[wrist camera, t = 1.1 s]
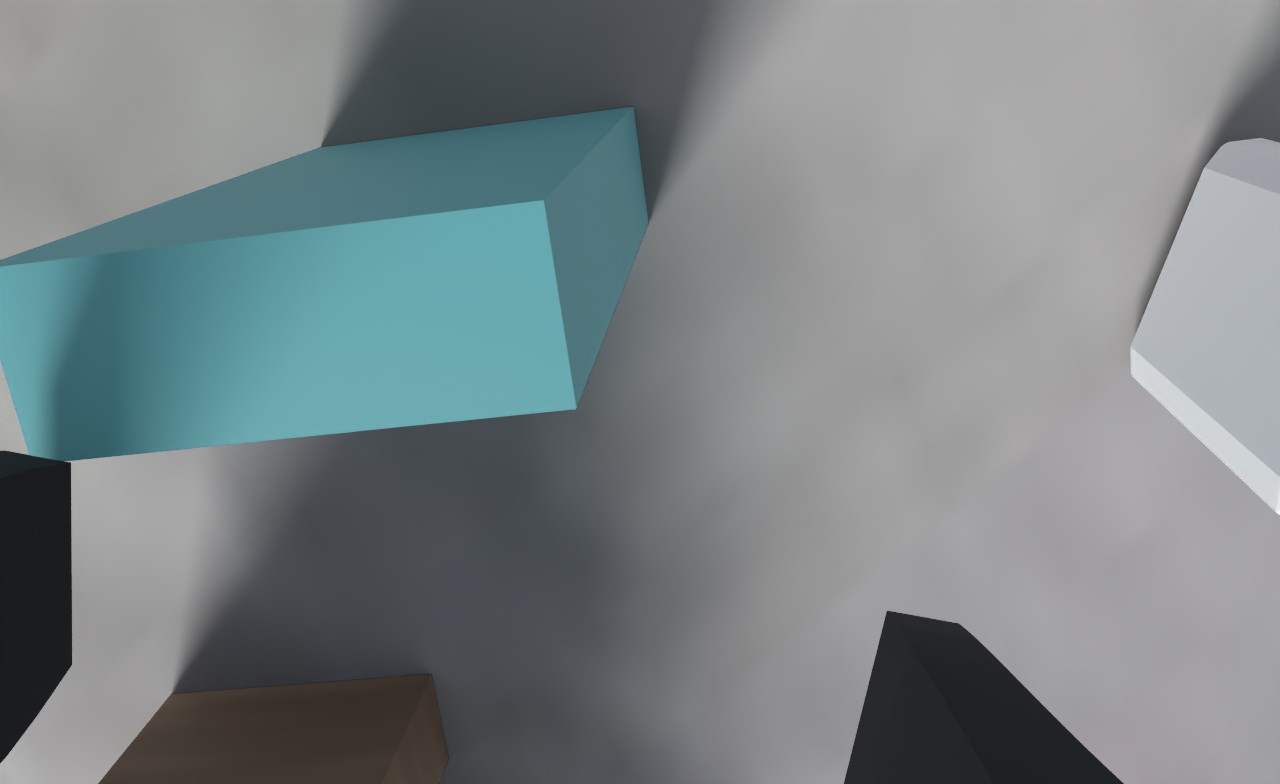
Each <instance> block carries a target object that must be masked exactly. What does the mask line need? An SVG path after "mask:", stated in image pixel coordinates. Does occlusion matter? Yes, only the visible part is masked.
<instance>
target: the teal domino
mask: <svg viewBox="0 0 1280 784" xmlns="http://www.w3.org/2000/svg"><path fill="white" fill-rule="evenodd" d="M648 224H649V220H648V213H647V205H646V197H645V190H644V182H643V174H642V167H641V159H640V151H639V144H638V136H637V129H636V121H635V113H634V107H626V108H618V109H611V110H603V111H595V112H588V113H580V114H572V115H565V116H557V117H549V118H542V119H534V120H526V121H519V122H511V123H503V124H496V125H488V126H480V127H473V128H465V129H457V130H450V131H442V132H434V133H427V134H419V135H411V136H404V137H396V138H388V139H380V140H373V141H365V142H357V143H350V144H342V145H334V146H327V147H320V148H317V149H314V150H311V151H308V152H306V153H303V154H300V155H297V156H294V157H291V158H289V159H286V160H283V161H280V162H277V163H274V164H272V165H269V166H266V167H263V168H260V169H257V170H255V171H252V172H249V173H246V174H243V175H240V176H238V177H235V178H232V179H229V180H226V181H223V182H221V183H218V184H215V185H212V186H209V187H206V188H204V189H201V190H198V191H195V192H192V193H189V194H187V195H184V196H181V197H178V198H175V199H172V200H170V201H167V202H164V203H161V204H158V205H155V206H153V207H150V208H147V209H144V210H141V211H138V212H136V213H133V214H130V215H127V216H124V217H121V218H119V219H116V220H113V221H110V222H107V223H104V224H102V225H99V226H96V227H93V228H90V229H87V230H85V231H82V232H79V233H76V234H73V235H70V236H68V237H65V238H62V239H59V240H56V241H53V242H51V243H48V244H45V245H42V246H39V247H36V248H34V249H31V250H28V251H25V252H22V253H19V254H17V255H14V256H11V257H8V258H5V259H2V260H0V360H1V364H2V367H3V370H4V373H5V377H6V380H7V383H8V386H9V390H10V393H11V396H12V399H13V403H14V406H15V409H16V412H17V416H18V419H19V422H20V425H21V429H22V432H23V435H24V438H25V442H26V445H27V448H28V451H29V455H31V456H36V457H42V458H47V459H53V460H58V461H72V460H81V459H91V458H101V457H111V456H121V455H130V454H140V453H150V452H160V451H170V450H180V449H189V448H199V447H209V446H219V445H229V444H239V443H248V442H258V441H268V440H278V439H288V438H298V437H307V436H317V435H327V434H337V433H347V432H356V431H366V430H376V429H386V428H396V427H406V426H415V425H425V424H435V423H445V422H455V421H465V420H474V419H484V418H494V417H504V416H514V415H523V414H533V413H543V412H553V411H563V410H573V409H577V407H578V404H579V401H580V399H581V396H582V394H583V391H584V389H585V386H586V383H587V381H588V378H589V376H590V373H591V370H592V368H593V365H594V363H595V360H596V358H597V355H598V352H599V350H600V347H601V345H602V342H603V340H604V337H605V334H606V332H607V329H608V327H609V324H610V322H611V319H612V316H613V314H614V311H615V309H616V306H617V304H618V301H619V298H620V296H621V293H622V291H623V288H624V285H625V283H626V280H627V278H628V275H629V273H630V270H631V267H632V265H633V262H634V260H635V257H636V255H637V252H638V249H639V247H640V244H641V242H642V239H643V237H644V234H645V231H646V229H647V226H648Z"/></svg>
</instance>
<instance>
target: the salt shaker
mask: <svg viewBox="0 0 1280 784" xmlns="http://www.w3.org/2000/svg"><path fill="white" fill-rule="evenodd" d="M1131 376H1133V377H1134V378H1135V379H1136V380H1137V381H1138V382H1139V383H1140V384H1141V385H1142V386H1143V387H1144V388H1145V389H1146V390H1147V391H1148V392H1149V393H1151V394H1152V395H1153V396H1154V397H1155V398H1156V399H1157V400H1158V401H1159V402H1160V403H1161V404H1162V405H1163V406H1164V407H1165V408H1166V409H1167V410H1169V411H1170V412H1171V413H1172V414H1173V415H1174V416H1175V417H1176V418H1177V419H1178V420H1179V421H1180V422H1181V423H1182V424H1183V425H1184V426H1185V427H1186V428H1188V429H1189V430H1190V431H1191V432H1192V433H1193V434H1194V435H1195V436H1196V437H1197V438H1198V439H1199V440H1200V441H1201V442H1202V443H1203V444H1204V445H1206V446H1207V447H1208V448H1209V449H1210V450H1211V451H1212V452H1213V453H1214V454H1215V455H1216V456H1217V457H1218V458H1219V459H1220V460H1221V461H1222V462H1224V463H1225V464H1226V465H1227V466H1228V467H1229V468H1230V469H1231V470H1232V471H1233V472H1234V473H1235V474H1236V475H1237V476H1238V477H1239V478H1240V479H1242V480H1243V481H1244V482H1245V483H1246V484H1247V485H1248V486H1249V487H1250V488H1251V489H1252V490H1253V491H1254V492H1255V493H1256V494H1257V495H1258V496H1260V497H1261V498H1262V499H1263V500H1264V501H1265V502H1266V503H1267V504H1268V505H1269V506H1270V507H1271V508H1272V509H1273V510H1274V511H1275V512H1277V513H1278V514H1279V515H1280V143H1279V142H1275V141H1271V140H1268V139H1264V138H1256V139H1248V140H1240V141H1233V142H1227V143H1225V144H1224V145H1222V146H1221V147H1220V148H1219V150H1218V151H1217V152H1216V153H1215V155H1214V156H1213V157H1212V158H1211V160H1210V161H1209V162H1208V164H1207V165H1206V166H1205V167H1204V169H1203V171H1202V174H1201V176H1200V179H1199V181H1198V184H1197V186H1196V188H1195V191H1194V193H1193V196H1192V198H1191V201H1190V203H1189V205H1188V208H1187V210H1186V213H1185V215H1184V218H1183V220H1182V222H1181V225H1180V227H1179V230H1178V232H1177V235H1176V237H1175V240H1174V242H1173V244H1172V247H1171V249H1170V252H1169V254H1168V257H1167V259H1166V261H1165V264H1164V266H1163V269H1162V271H1161V274H1160V276H1159V278H1158V281H1157V283H1156V286H1155V288H1154V291H1153V293H1152V295H1151V298H1150V300H1149V303H1148V305H1147V308H1146V310H1145V313H1144V315H1143V317H1142V320H1141V322H1140V325H1139V327H1138V330H1137V332H1136V335H1135V337H1134V339H1133V342H1132V344H1131Z"/></svg>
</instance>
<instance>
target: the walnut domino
mask: <svg viewBox="0 0 1280 784" xmlns="http://www.w3.org/2000/svg"><path fill="white" fill-rule="evenodd" d="M448 760H449V756H448V751H447V746H446V741H445V737H444V732H443V727H442V722H441V718H440V713H439V708H438V703H437V699H436V694H435V689H434V684H433V680H432V675H431V674H422V675H409V676H396V677H383V678H371V679H358V680H345V681H332V682H319V683H306V684H293V685H280V686H267V687H254V688H242V689H229V690H216V691H203V692H190V693H177V694H171V695H170V696H169V698H168V699H167V700H166V701H165V702H164V704H163V705H162V706H161V707H160V709H159V710H158V711H157V712H156V713H155V715H154V716H153V717H152V718H151V720H150V721H149V722H148V723H147V725H146V726H145V727H144V728H143V729H142V731H141V732H140V733H139V734H138V736H137V737H136V738H135V739H134V741H133V742H132V743H131V744H130V745H129V747H128V748H127V749H126V750H125V752H124V753H123V754H122V755H121V756H120V758H119V759H118V760H117V761H116V763H115V764H114V765H113V766H112V768H111V769H110V770H109V771H108V772H107V774H106V775H105V776H104V777H103V779H102V780H101V781H100V782H99V784H440V781H441V778H442V776H443V773H444V770H445V768H446V765H447V762H448Z"/></svg>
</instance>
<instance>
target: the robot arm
mask: <svg viewBox="0 0 1280 784" xmlns="http://www.w3.org/2000/svg"><path fill="white" fill-rule="evenodd" d="M71 665H72V574H71V463H69V462H64V461H58V460H53V459H47V458H42V457H36V456H31V455H25V454H20V453H14V452H9V451H0V763H1V762H2V761H3V760H4V759H5V758H6V756H7V755H8V754H9V752H10V751H11V750H12V748H13V747H14V746H15V744H16V743H17V742H18V740H19V739H20V738H21V736H22V735H23V734H24V732H25V731H26V730H27V728H28V727H29V726H30V724H31V723H32V722H33V720H34V719H35V718H36V716H37V715H38V713H39V712H40V711H41V709H42V708H43V706H44V705H45V703H46V702H47V700H48V699H49V697H50V696H51V695H52V693H53V692H54V690H55V689H56V687H57V686H58V684H59V683H60V681H61V680H62V678H63V677H64V676H65V674H66V673H67V671H68V670H69V668H70V667H71ZM844 784H1124V783H1122V782H1121V781H1120V780H1119V779H1118V778H1117V777H1116V776H1115V775H1114V774H1113V773H1112V772H1111V771H1110V770H1108V769H1107V768H1106V767H1105V766H1104V765H1103V764H1102V763H1101V762H1100V761H1099V760H1098V759H1097V758H1096V757H1095V756H1094V755H1093V754H1092V753H1091V752H1090V751H1088V750H1087V749H1086V748H1085V747H1084V746H1083V745H1082V744H1081V743H1080V742H1079V741H1078V740H1077V739H1076V738H1075V737H1074V736H1073V735H1072V734H1071V733H1070V732H1069V731H1068V730H1067V729H1066V728H1065V727H1064V726H1063V725H1062V724H1061V723H1060V722H1059V721H1058V720H1057V719H1056V718H1055V717H1054V716H1053V715H1052V714H1051V713H1050V712H1049V711H1048V710H1047V709H1046V708H1045V707H1044V706H1043V705H1042V704H1041V703H1040V702H1039V701H1038V700H1037V699H1036V698H1035V697H1034V696H1033V695H1032V694H1031V693H1030V692H1029V691H1028V690H1027V689H1026V688H1025V687H1024V686H1023V685H1022V684H1021V683H1020V682H1019V681H1018V680H1017V679H1016V678H1015V677H1014V676H1013V675H1012V674H1011V673H1010V672H1009V670H1008V669H1007V668H1006V667H1005V666H1004V665H1003V664H1002V663H1001V662H1000V661H999V660H998V659H997V658H996V657H995V656H994V655H993V654H992V653H991V652H990V651H989V650H988V649H987V648H985V647H984V646H983V645H982V644H981V643H980V642H979V641H978V640H977V639H976V638H975V637H974V636H973V635H972V634H971V633H969V632H968V631H967V630H966V629H965V628H963V627H962V626H961V625H960V624H958V623H952V622H947V621H941V620H936V619H930V618H925V617H919V616H914V615H908V614H902V613H897V612H891V611H887V613H886V617H885V621H884V625H883V629H882V633H881V637H880V641H879V645H878V649H877V653H876V657H875V661H874V665H873V669H872V673H871V677H870V681H869V685H868V689H867V693H866V697H865V701H864V705H863V709H862V713H861V717H860V721H859V725H858V729H857V733H856V737H855V741H854V745H853V749H852V753H851V757H850V761H849V765H848V769H847V773H846V777H845V781H844Z"/></svg>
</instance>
